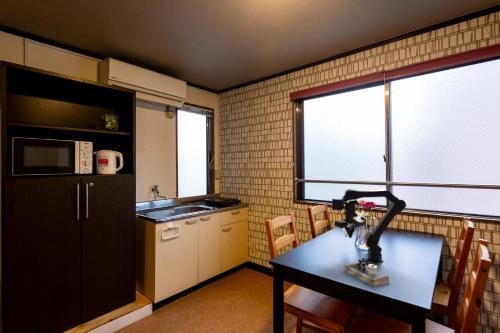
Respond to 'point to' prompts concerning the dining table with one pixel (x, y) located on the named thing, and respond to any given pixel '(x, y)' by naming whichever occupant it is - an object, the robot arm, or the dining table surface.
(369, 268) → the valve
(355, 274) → the carrier nest
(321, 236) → the dining table surface
